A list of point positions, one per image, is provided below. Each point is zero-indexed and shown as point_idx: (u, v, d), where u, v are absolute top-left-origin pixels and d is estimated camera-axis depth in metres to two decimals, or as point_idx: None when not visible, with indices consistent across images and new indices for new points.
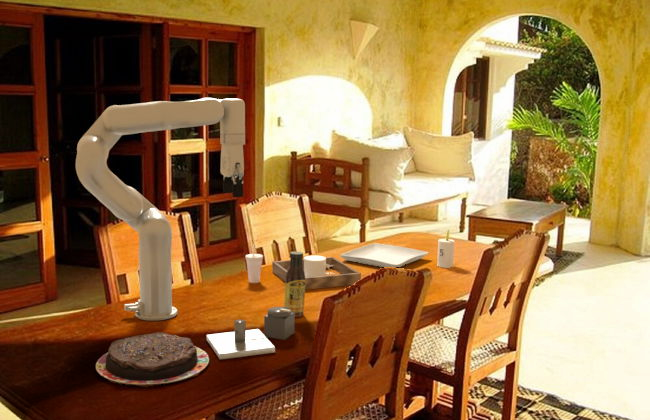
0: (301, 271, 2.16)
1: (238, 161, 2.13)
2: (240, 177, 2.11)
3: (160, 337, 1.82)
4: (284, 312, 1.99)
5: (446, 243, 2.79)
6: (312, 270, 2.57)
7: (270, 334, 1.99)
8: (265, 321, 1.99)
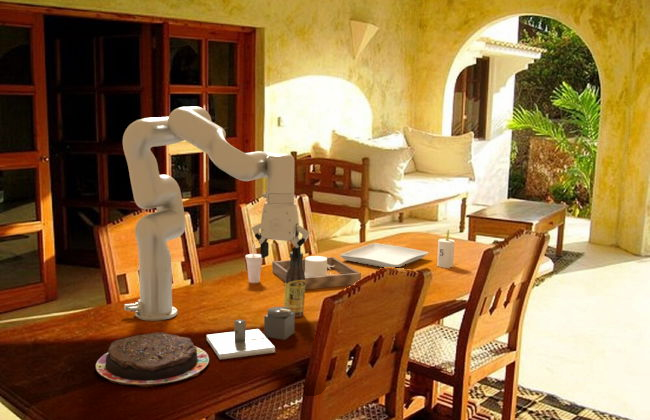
0: (301, 271, 2.16)
1: (297, 222, 1.94)
2: (305, 239, 1.94)
3: (160, 337, 1.82)
4: (284, 312, 1.99)
5: (446, 243, 2.79)
6: (313, 271, 2.56)
7: (270, 334, 1.99)
8: (265, 321, 1.99)
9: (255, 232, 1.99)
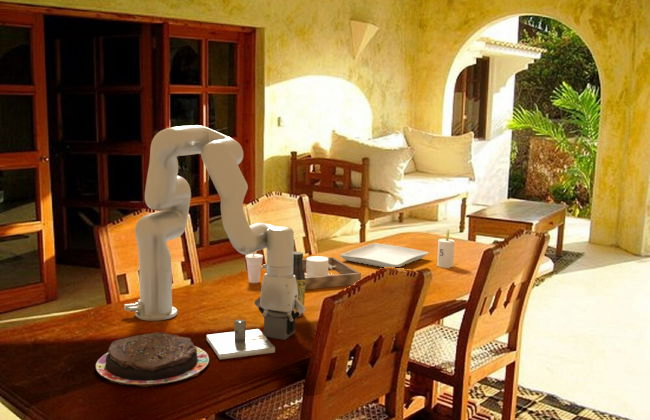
0: (301, 271, 2.16)
1: (296, 295, 1.98)
2: None
3: (160, 337, 1.82)
4: (284, 312, 1.99)
5: (446, 243, 2.79)
6: (315, 271, 2.56)
7: (270, 334, 1.99)
8: (265, 321, 1.99)
9: (258, 305, 2.02)
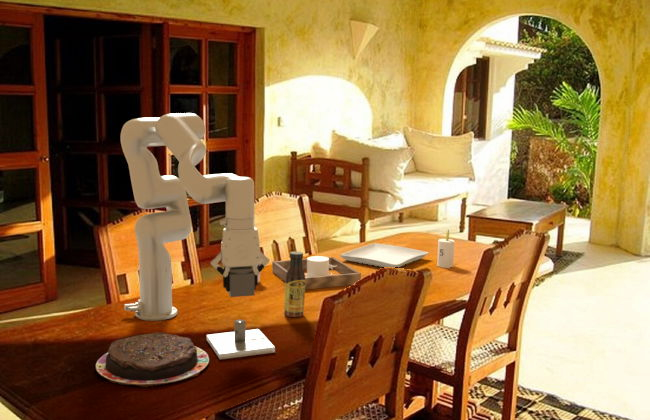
0: (301, 271, 2.16)
1: None
2: None
3: (160, 337, 1.82)
4: (248, 267, 1.88)
5: (446, 243, 2.79)
6: (316, 271, 2.56)
7: (238, 293, 1.86)
8: (231, 280, 1.85)
9: (216, 266, 1.86)
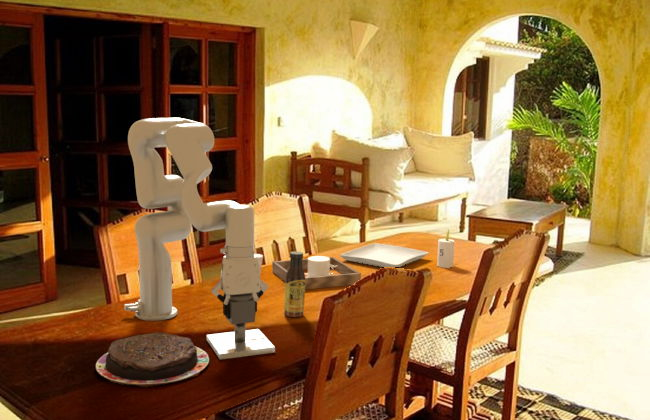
0: (301, 271, 2.16)
1: None
2: None
3: (160, 337, 1.82)
4: (248, 294, 1.89)
5: (446, 243, 2.79)
6: (317, 271, 2.56)
7: (239, 320, 1.87)
8: (233, 308, 1.86)
9: (217, 294, 1.87)
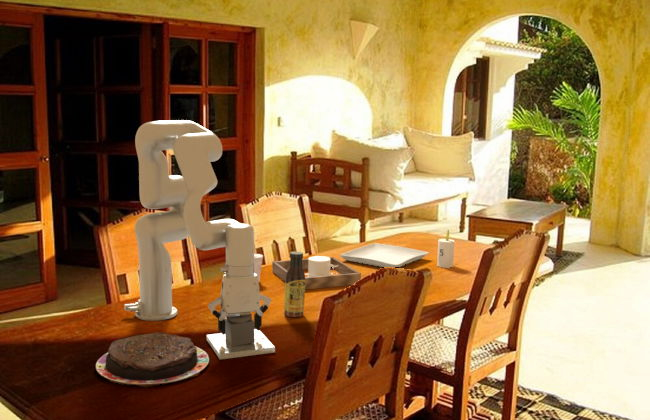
0: (301, 271, 2.16)
1: None
2: None
3: (160, 337, 1.82)
4: (247, 315, 1.90)
5: (446, 243, 2.79)
6: (317, 271, 2.56)
7: (238, 341, 1.89)
8: (232, 330, 1.87)
9: (212, 309, 1.87)
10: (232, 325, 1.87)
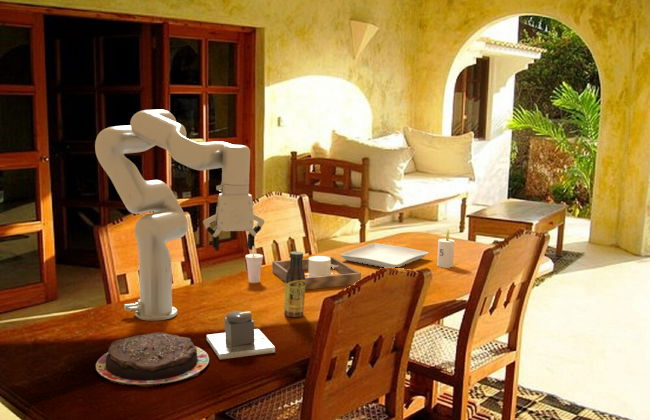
0: (301, 271, 2.16)
1: None
2: None
3: (160, 337, 1.82)
4: (247, 315, 1.90)
5: (446, 243, 2.79)
6: (318, 271, 2.56)
7: (238, 341, 1.89)
8: (232, 330, 1.87)
9: (207, 226, 1.95)
10: (232, 325, 1.87)
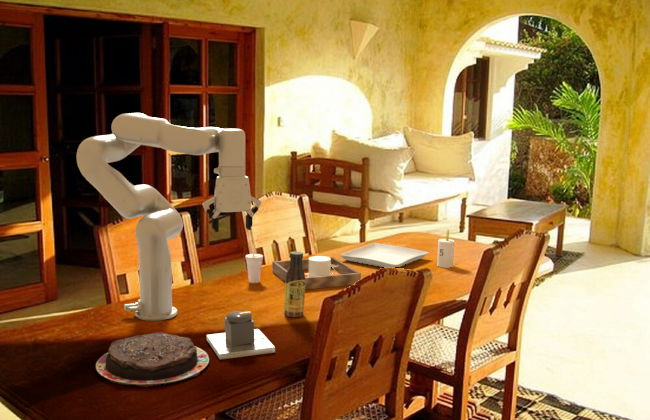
0: (301, 271, 2.16)
1: None
2: None
3: (160, 337, 1.82)
4: (247, 315, 1.90)
5: (446, 243, 2.79)
6: (318, 271, 2.56)
7: (238, 341, 1.89)
8: (232, 330, 1.87)
9: (206, 208, 2.01)
10: (232, 325, 1.87)
